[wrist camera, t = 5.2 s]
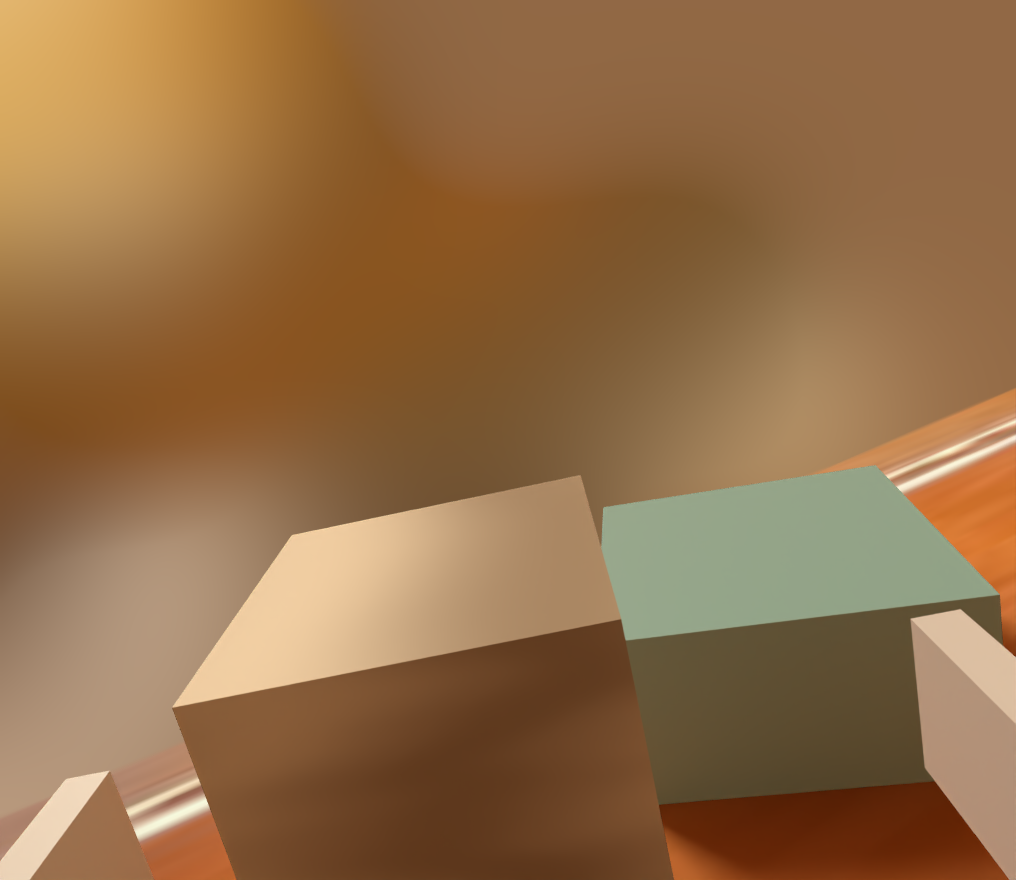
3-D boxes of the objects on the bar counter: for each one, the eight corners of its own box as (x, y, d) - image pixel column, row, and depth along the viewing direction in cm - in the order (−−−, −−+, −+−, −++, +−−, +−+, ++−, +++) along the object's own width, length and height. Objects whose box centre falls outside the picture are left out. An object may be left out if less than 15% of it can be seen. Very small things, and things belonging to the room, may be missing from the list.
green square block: (632, 814, 21) (596, 644, 19) (628, 633, 29) (603, 507, 28) (1011, 783, 19) (999, 594, 18) (889, 601, 27) (875, 465, 26)
